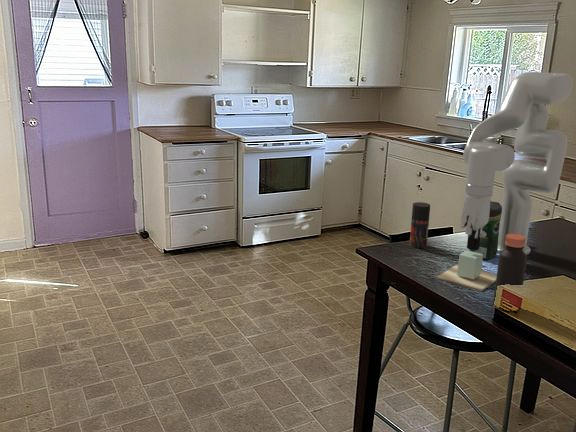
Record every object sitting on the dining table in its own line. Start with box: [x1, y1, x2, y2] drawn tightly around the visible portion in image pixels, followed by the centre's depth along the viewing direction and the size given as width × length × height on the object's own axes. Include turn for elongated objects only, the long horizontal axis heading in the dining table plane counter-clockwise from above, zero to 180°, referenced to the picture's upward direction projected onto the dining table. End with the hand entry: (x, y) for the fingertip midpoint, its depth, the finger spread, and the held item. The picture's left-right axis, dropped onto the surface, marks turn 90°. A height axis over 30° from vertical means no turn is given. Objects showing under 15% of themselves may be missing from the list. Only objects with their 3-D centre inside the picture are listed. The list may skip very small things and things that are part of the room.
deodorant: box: [409, 201, 431, 249], centre depth 195 cm, size 6×6×15 cm
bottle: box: [492, 234, 528, 306], centre depth 148 cm, size 7×7×20 cm
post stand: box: [436, 263, 497, 292], centre depth 168 cm, size 14×14×7 cm
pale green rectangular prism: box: [457, 249, 484, 280], centre depth 168 cm, size 5×5×7 cm
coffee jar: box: [469, 200, 502, 260], centre depth 186 cm, size 10×8×19 cm
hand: (472, 248), depth 167 cm, fingers closed
